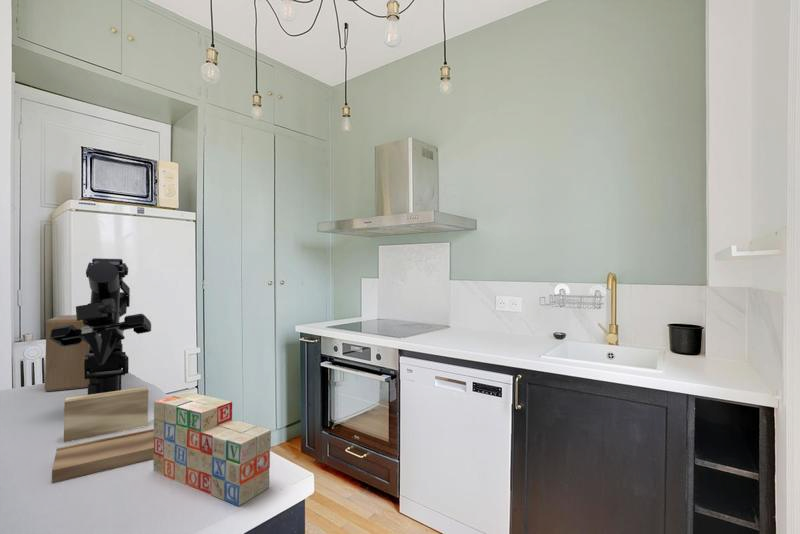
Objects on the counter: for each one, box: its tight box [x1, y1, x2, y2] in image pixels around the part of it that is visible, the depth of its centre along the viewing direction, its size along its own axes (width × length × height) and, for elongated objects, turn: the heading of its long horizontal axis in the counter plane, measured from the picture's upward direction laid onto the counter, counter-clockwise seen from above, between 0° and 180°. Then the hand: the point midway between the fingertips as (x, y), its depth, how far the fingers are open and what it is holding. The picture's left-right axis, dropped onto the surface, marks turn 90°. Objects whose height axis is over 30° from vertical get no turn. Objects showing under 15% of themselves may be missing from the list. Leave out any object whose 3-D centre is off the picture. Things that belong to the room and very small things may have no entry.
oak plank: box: [63, 386, 149, 443], centre depth 83 cm, size 3×14×8 cm, turn 128°
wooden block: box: [44, 314, 90, 392], centre depth 114 cm, size 10×10×20 cm
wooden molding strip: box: [51, 428, 154, 484], centre depth 72 cm, size 10×15×2 cm, turn 128°
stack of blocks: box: [152, 391, 272, 507], centre depth 65 cm, size 21×6×12 cm, turn 62°
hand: (100, 364), depth 90 cm, fingers closed
